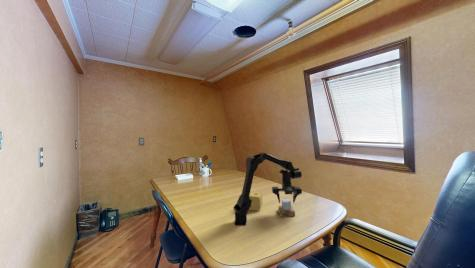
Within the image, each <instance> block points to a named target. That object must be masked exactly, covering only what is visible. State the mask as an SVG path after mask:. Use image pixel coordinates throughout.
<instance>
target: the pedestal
mask: <svg viewBox="0 0 475 268" xmlns="http://www.w3.org/2000/svg"><path fill="white" fill-rule="evenodd" d="M278 212H279V216H280V217H295V216H296V211H295V208H294V207H293V206H292V205H291V210H283V208H282V205H278Z"/></svg>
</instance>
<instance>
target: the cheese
mask: <svg viewBox="0 0 475 268" xmlns="http://www.w3.org/2000/svg"><path fill="white" fill-rule="evenodd" d="M249 197H250V199H251V200H252V202H251V207H250V208H249V210H248V211H259V212H260V211H261V209H262V206H263V202H264V201H263V192H261V191H252V192H250V195H249Z"/></svg>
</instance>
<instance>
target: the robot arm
mask: <svg viewBox="0 0 475 268" xmlns="http://www.w3.org/2000/svg"><path fill="white" fill-rule="evenodd" d="M264 161H268V162H270V163H273V164H275V165H277V166H278V167H280V168H281V170H280V171H279V172H278V173H279V174H281V187H280V188H279V187H278V186H271V192H272V194H274V195H275V196H276V197H277V201H278V203H279V204H280V203H281V199H280V192H283V193H284V195H292V202H293V204H295V202H296V199H297V197H298V196H300V195H301V194H303V190H302V188H301V187H300V186H296V185H292V180H296V179H301V178H302V176H303V174H302V171H301V170H300V168H299V167H294V166H293V162H292V161H290V160H285V159H280V158H278V157H276V156H273V155H271V154H268V153H267V152H259V153H258V154H255V155H252V156H248V157H247V158H246V160H245V170H246V173H245V177H244V180H243V186H242V191H241V194H240V195H239V196H238V199H237V202H236V204H234V206H233V210H234V225H235V226H246V225H247V222H248V221H247V220H248V218H247V216H248V215H247V214H248V212H249V211H250V210H249V208H250V207H251V202H252V200H251V199H250V197H249V195H250V193H251V189H252V184H253V181H254V176H255V173H256V171H257V170H258V167H259V165H260V164H262V163H263V162H264Z"/></svg>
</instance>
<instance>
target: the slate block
mask: <svg viewBox="0 0 475 268" xmlns="http://www.w3.org/2000/svg"><path fill="white" fill-rule="evenodd" d="M281 206H282V208H283V210H291V206H292V202H291V200H290V199H287V198H286V199H285V198H284V199H281Z"/></svg>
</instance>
